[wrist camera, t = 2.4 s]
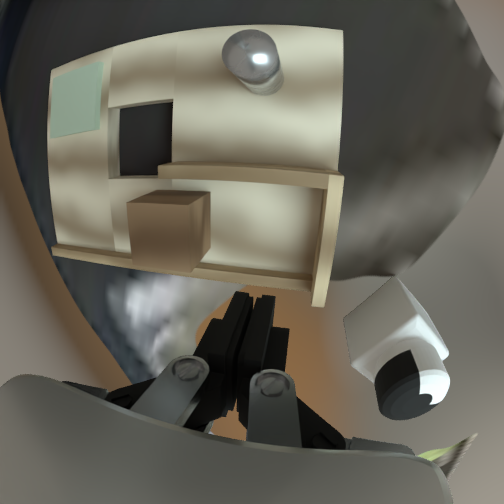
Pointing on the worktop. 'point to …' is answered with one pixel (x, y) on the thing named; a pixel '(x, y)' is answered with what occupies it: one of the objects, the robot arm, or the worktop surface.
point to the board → (215, 156)
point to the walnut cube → (170, 229)
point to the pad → (76, 101)
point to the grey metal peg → (254, 61)
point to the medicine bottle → (398, 351)
